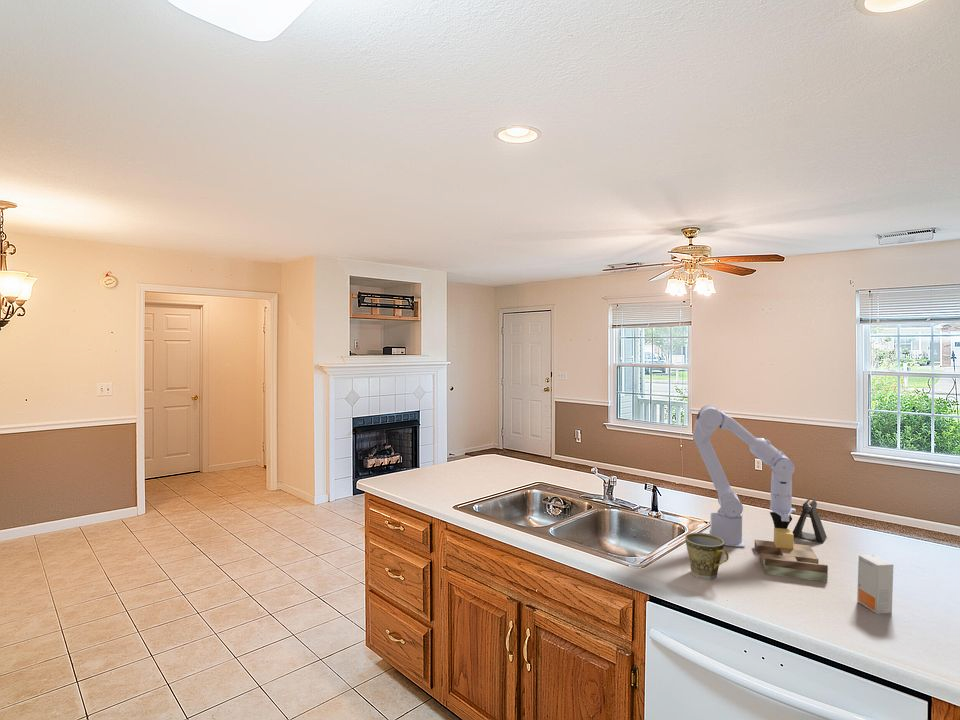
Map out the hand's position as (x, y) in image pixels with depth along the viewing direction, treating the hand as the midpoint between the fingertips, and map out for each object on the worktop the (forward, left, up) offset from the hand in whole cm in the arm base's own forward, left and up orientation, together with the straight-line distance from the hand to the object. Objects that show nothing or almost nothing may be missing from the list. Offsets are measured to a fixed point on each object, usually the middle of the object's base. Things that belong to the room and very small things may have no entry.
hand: (780, 536), depth 167 cm
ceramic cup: (-22, -29, -3) cm, 37 cm away
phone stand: (+11, +13, -4) cm, 17 cm away
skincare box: (+15, -34, -3) cm, 38 cm away
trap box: (0, -12, -3) cm, 13 cm away
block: (0, -5, -1) cm, 5 cm away
